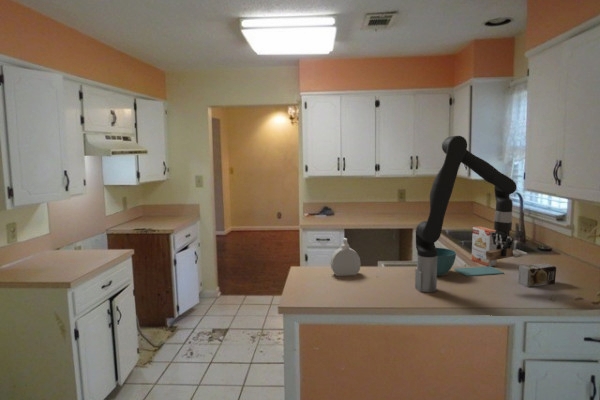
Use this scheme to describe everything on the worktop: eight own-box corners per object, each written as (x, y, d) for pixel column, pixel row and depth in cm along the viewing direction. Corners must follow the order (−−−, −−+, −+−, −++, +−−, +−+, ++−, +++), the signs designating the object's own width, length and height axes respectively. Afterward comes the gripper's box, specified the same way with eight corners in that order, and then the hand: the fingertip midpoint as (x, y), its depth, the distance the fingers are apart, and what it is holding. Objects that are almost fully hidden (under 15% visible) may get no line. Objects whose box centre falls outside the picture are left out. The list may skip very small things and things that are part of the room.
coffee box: (528, 269, 192) (556, 266, 195) (518, 265, 198) (546, 262, 201) (527, 287, 193) (555, 284, 196) (517, 283, 199) (545, 280, 202)
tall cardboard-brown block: (492, 262, 187) (492, 254, 187) (483, 258, 194) (483, 250, 194) (527, 255, 190) (526, 247, 189) (517, 251, 196) (516, 243, 196)
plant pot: (413, 272, 218) (413, 251, 217) (432, 266, 229) (433, 245, 228) (442, 281, 204) (443, 258, 202) (462, 273, 215) (462, 251, 213)
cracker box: (470, 260, 239) (472, 226, 236) (479, 259, 241) (480, 225, 238) (488, 267, 226) (489, 231, 223) (496, 265, 228) (498, 230, 225)
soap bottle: (358, 271, 222) (358, 237, 219) (360, 274, 217) (360, 239, 214) (330, 273, 220) (329, 238, 217) (332, 276, 215) (331, 240, 212)
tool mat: (465, 276, 210) (466, 275, 210) (454, 269, 222) (454, 268, 222) (503, 273, 213) (503, 272, 213) (490, 267, 225) (490, 266, 225)
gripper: (487, 218, 196) (485, 252, 198) (505, 223, 182) (503, 259, 184) (501, 217, 197) (498, 251, 199) (520, 222, 183) (517, 259, 185)
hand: (501, 255), depth 191 cm, fingers closed on tall cardboard-brown block, 3 cm apart
